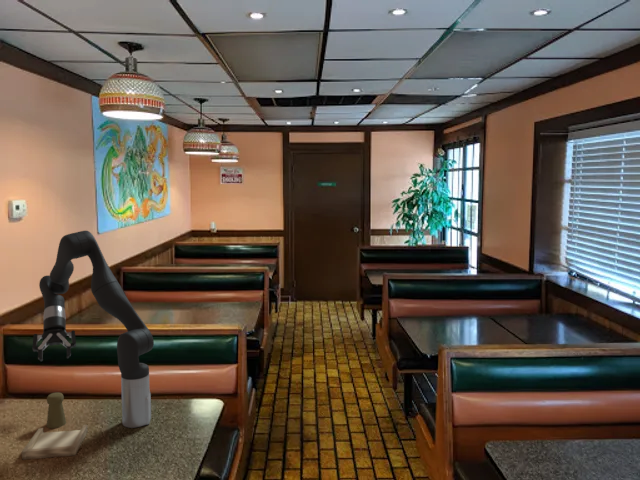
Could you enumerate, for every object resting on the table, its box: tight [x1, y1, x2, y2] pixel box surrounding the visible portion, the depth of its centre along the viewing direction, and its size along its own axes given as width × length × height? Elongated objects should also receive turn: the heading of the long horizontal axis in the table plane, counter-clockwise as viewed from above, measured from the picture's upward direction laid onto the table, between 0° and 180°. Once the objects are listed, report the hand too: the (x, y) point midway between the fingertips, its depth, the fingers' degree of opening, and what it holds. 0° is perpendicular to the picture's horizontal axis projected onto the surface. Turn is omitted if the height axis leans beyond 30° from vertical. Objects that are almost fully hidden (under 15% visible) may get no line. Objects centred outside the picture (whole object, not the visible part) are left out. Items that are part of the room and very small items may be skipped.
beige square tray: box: [21, 424, 89, 461], centre depth 159 cm, size 15×15×2 cm
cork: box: [46, 392, 67, 429], centre depth 172 cm, size 6×6×11 cm
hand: (54, 358), depth 181 cm, fingers open, 8 cm apart
